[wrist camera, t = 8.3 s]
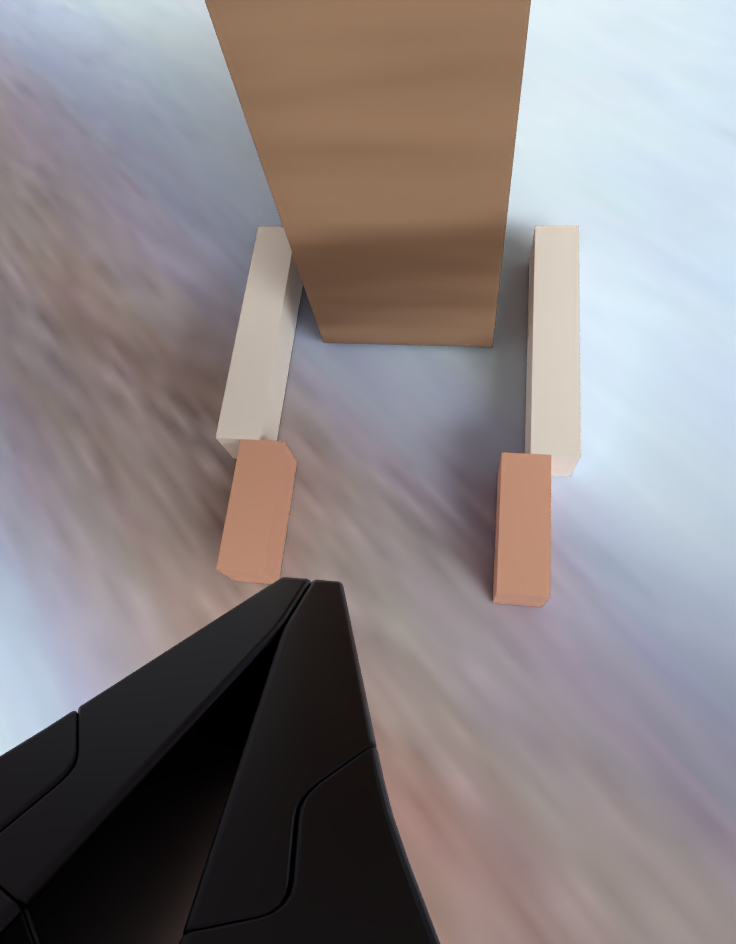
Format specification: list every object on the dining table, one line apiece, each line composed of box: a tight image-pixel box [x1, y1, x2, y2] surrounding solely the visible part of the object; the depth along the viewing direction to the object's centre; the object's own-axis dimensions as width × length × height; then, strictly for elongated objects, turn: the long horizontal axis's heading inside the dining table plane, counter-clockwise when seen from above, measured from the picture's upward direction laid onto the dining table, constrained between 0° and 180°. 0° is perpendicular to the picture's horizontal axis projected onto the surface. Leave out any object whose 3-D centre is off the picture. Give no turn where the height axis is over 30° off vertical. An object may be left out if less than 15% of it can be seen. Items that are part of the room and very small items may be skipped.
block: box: [205, 0, 531, 347], centre depth 15 cm, size 5×5×10 cm
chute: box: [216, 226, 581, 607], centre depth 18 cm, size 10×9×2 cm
